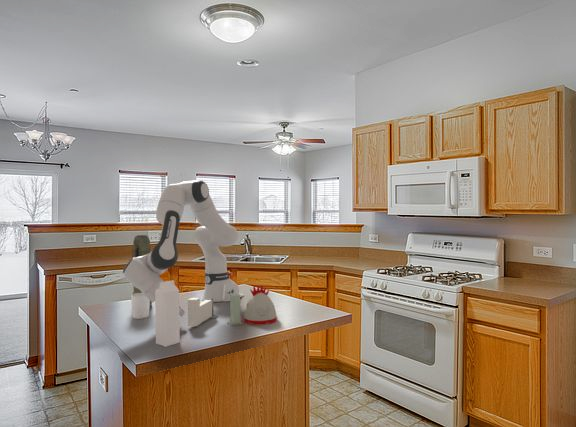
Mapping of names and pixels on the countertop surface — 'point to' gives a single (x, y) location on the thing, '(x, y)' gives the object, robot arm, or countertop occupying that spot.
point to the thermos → (141, 252)
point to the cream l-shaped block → (198, 311)
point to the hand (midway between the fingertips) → (183, 314)
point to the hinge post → (212, 310)
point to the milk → (167, 314)
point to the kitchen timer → (260, 308)
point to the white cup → (140, 305)
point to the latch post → (235, 310)
